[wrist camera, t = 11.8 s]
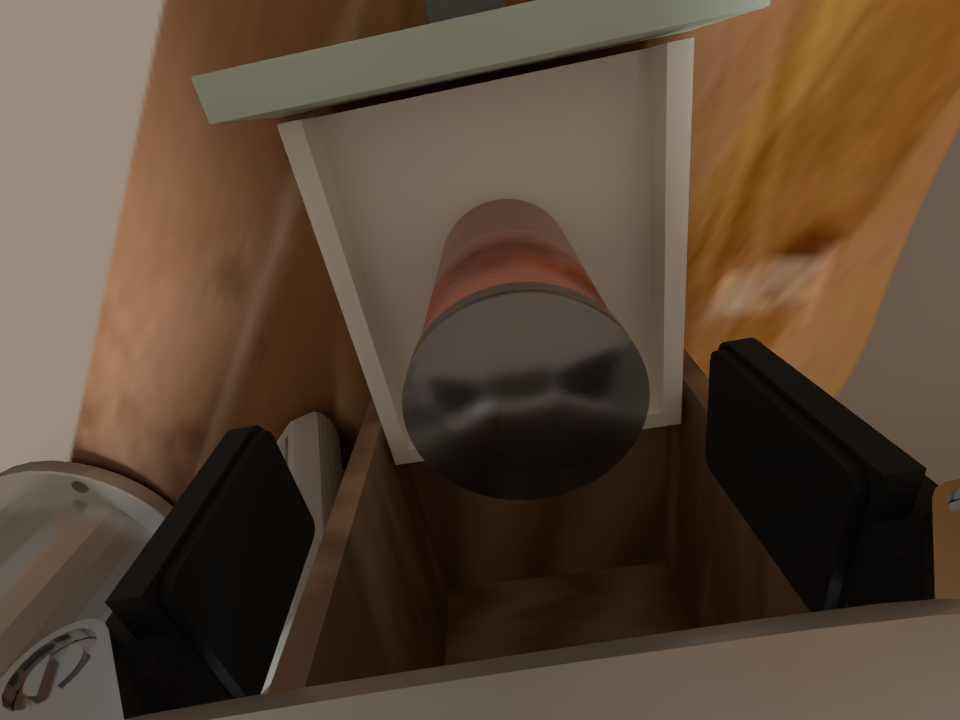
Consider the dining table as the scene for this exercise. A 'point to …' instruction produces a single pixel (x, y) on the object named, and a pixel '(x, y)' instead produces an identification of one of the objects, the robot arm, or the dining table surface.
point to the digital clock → (310, 491)
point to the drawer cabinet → (525, 561)
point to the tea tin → (520, 363)
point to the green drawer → (493, 162)
